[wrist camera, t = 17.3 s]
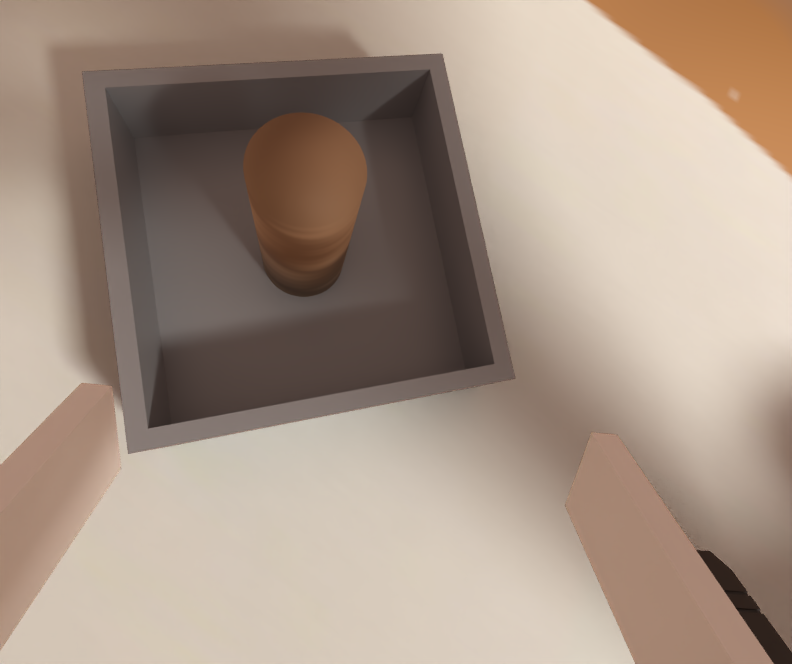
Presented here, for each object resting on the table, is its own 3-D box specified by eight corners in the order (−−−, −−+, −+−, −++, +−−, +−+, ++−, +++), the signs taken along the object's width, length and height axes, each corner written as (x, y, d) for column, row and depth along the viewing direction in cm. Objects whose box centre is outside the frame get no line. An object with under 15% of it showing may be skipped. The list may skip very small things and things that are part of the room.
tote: (419, 111, 37) (442, 53, 31) (478, 386, 35) (515, 378, 29) (120, 133, 33) (82, 71, 27) (160, 447, 30) (127, 453, 25)
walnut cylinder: (349, 230, 34) (376, 128, 22) (335, 303, 33) (356, 238, 21) (271, 213, 33) (257, 99, 21) (255, 288, 32) (230, 211, 20)
